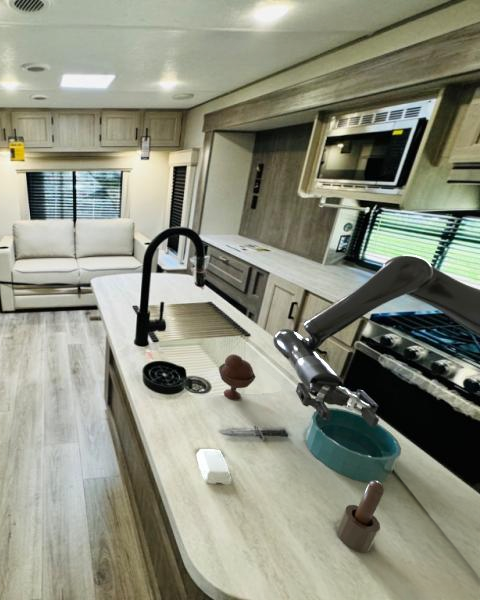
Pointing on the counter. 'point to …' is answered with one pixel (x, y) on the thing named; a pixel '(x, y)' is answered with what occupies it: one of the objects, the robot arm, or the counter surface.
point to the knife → (257, 433)
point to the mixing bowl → (353, 446)
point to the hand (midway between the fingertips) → (351, 420)
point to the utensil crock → (357, 531)
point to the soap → (213, 466)
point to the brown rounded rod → (369, 502)
